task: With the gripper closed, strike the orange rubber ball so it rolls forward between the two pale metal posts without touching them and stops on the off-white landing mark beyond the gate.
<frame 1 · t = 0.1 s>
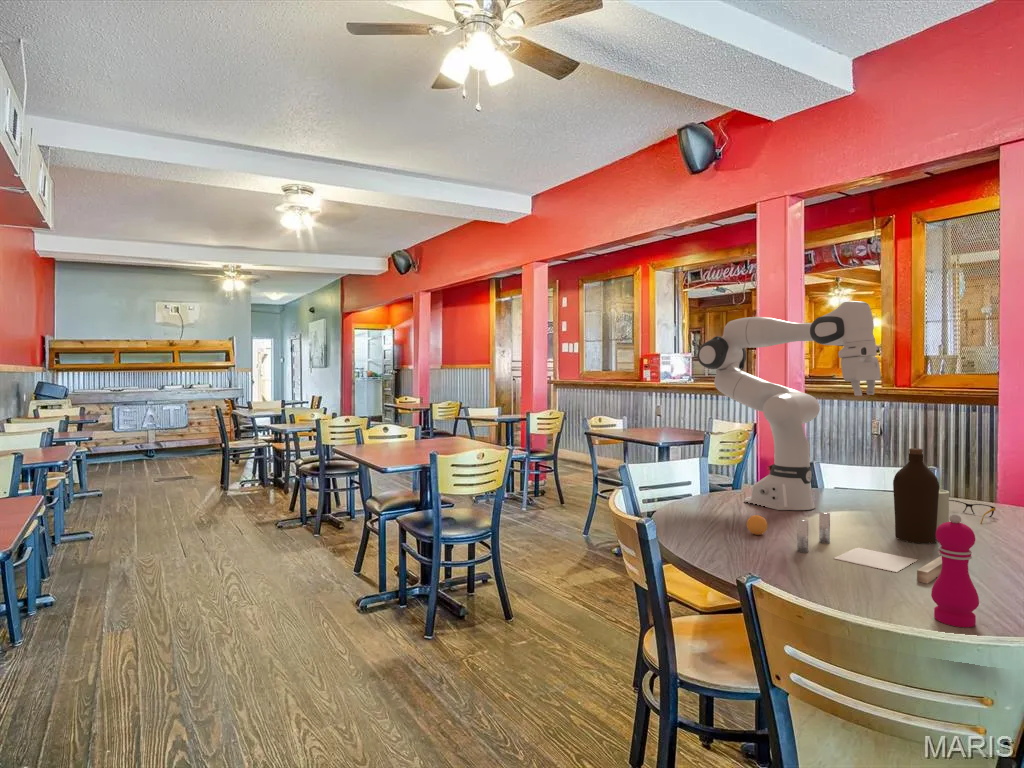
hand: (864, 395, 192), 39 cm above the table, tool pointing down, fingers open, 8 cm apart
eyeglasses: (961, 518, 195), on the table
can: (930, 530, 179), on the table
ball: (757, 524, 175), on the table
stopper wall: (937, 572, 141), on the table
post 1: (802, 551, 159), on the table
landing mark: (875, 559, 151), on the table
post 2: (824, 542, 167), on the table
olive oil: (915, 540, 169), on the table
pepper mill: (954, 621, 114), on the table
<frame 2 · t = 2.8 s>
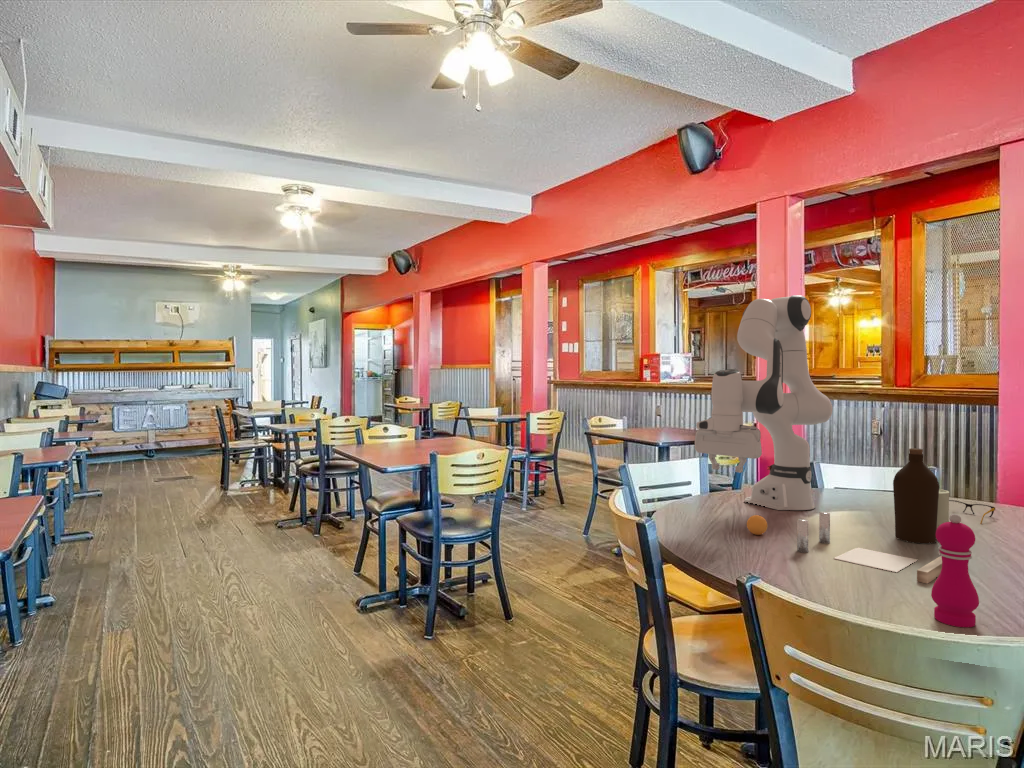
hand: (727, 470, 182), 17 cm above the table, tool pointing down, fingers open, 6 cm apart
nothing on the table moved.
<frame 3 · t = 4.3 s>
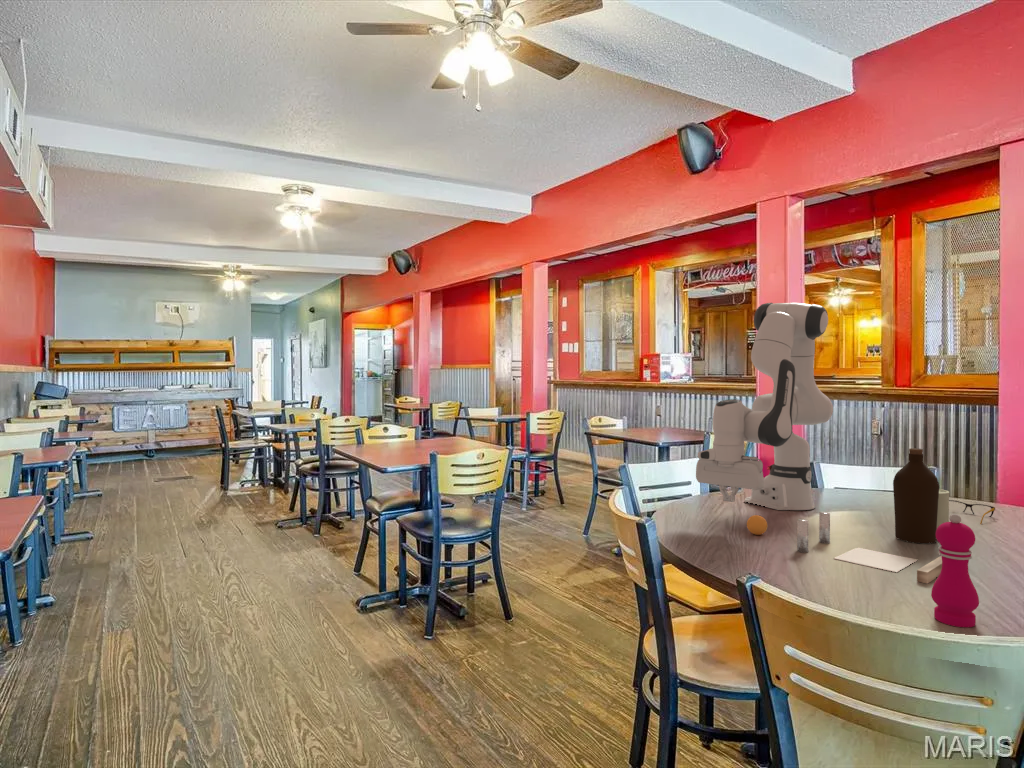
hand: (728, 501, 181), 8 cm above the table, tool pointing down, fingers closed
nothing on the table moved.
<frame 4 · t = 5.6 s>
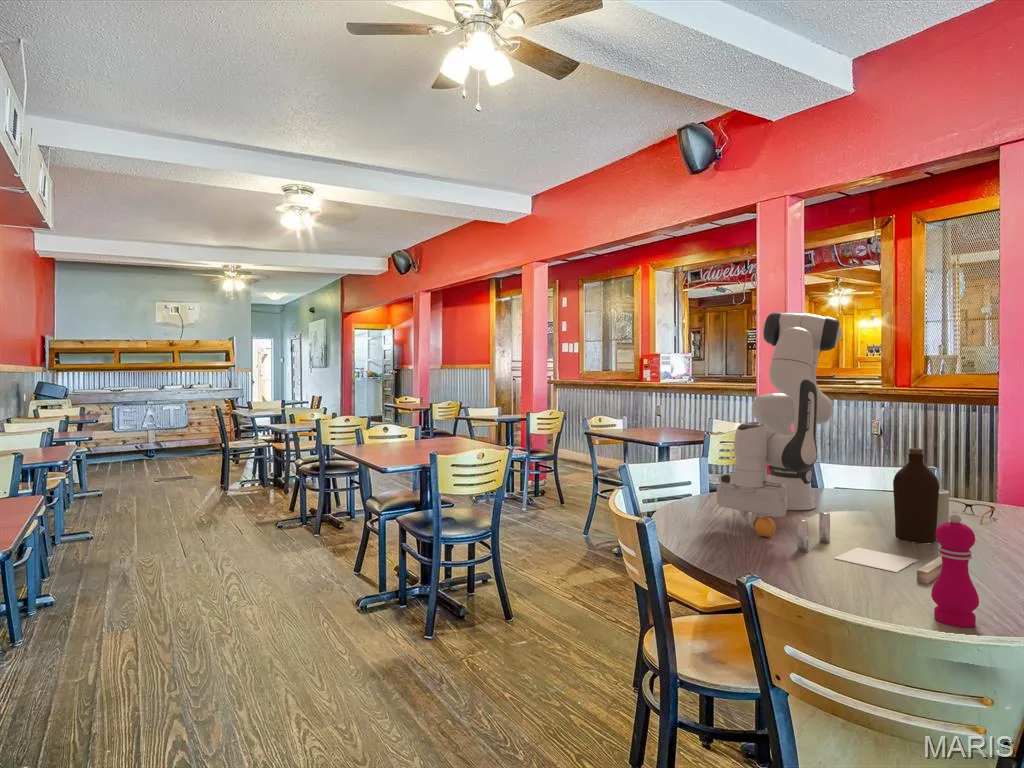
hand: (750, 527, 176), 2 cm above the table, tool pointing down, fingers closed
ball: (764, 526, 173), on the table
everything else where it was.
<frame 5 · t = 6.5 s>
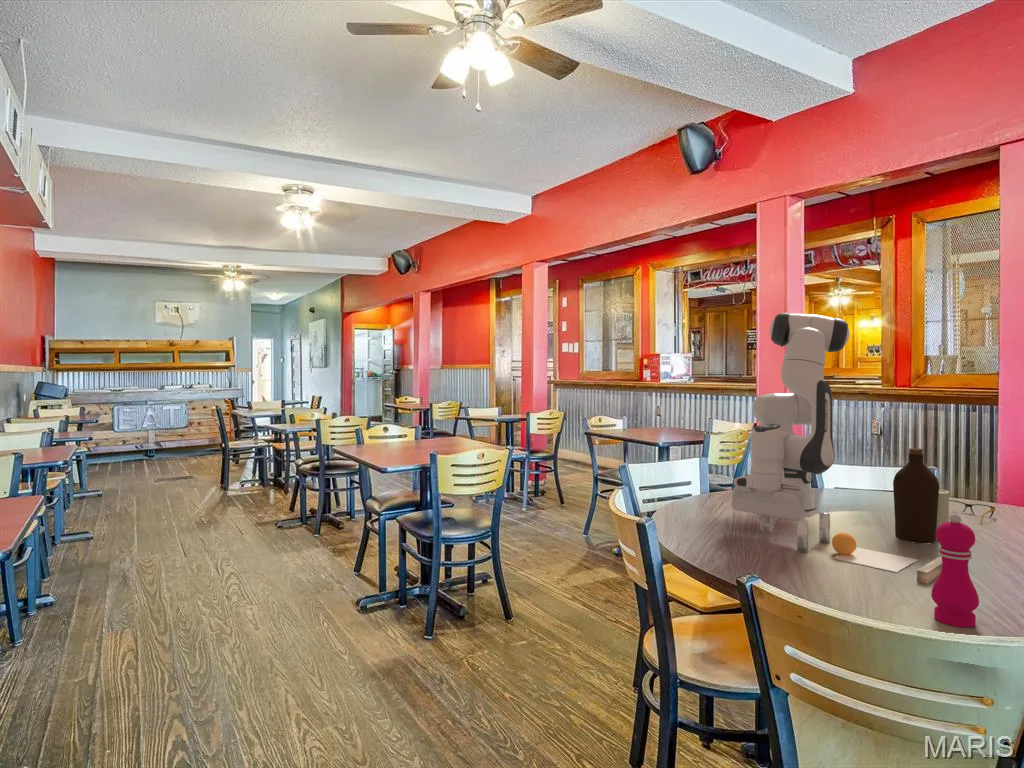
hand: (767, 530, 173), 2 cm above the table, tool pointing down, fingers closed
ball: (844, 543, 156), on the table
everything else where it was.
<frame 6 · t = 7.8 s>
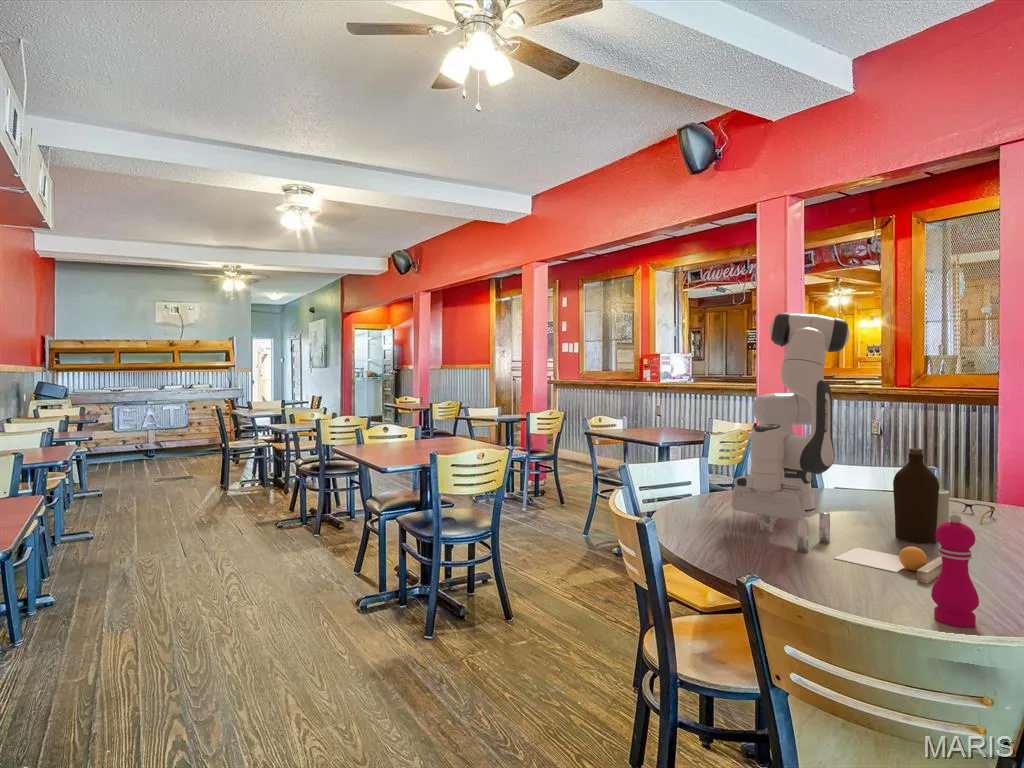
hand: (767, 530, 173), 2 cm above the table, tool pointing down, fingers closed
ball: (913, 558, 143), on the table
everything else where it was.
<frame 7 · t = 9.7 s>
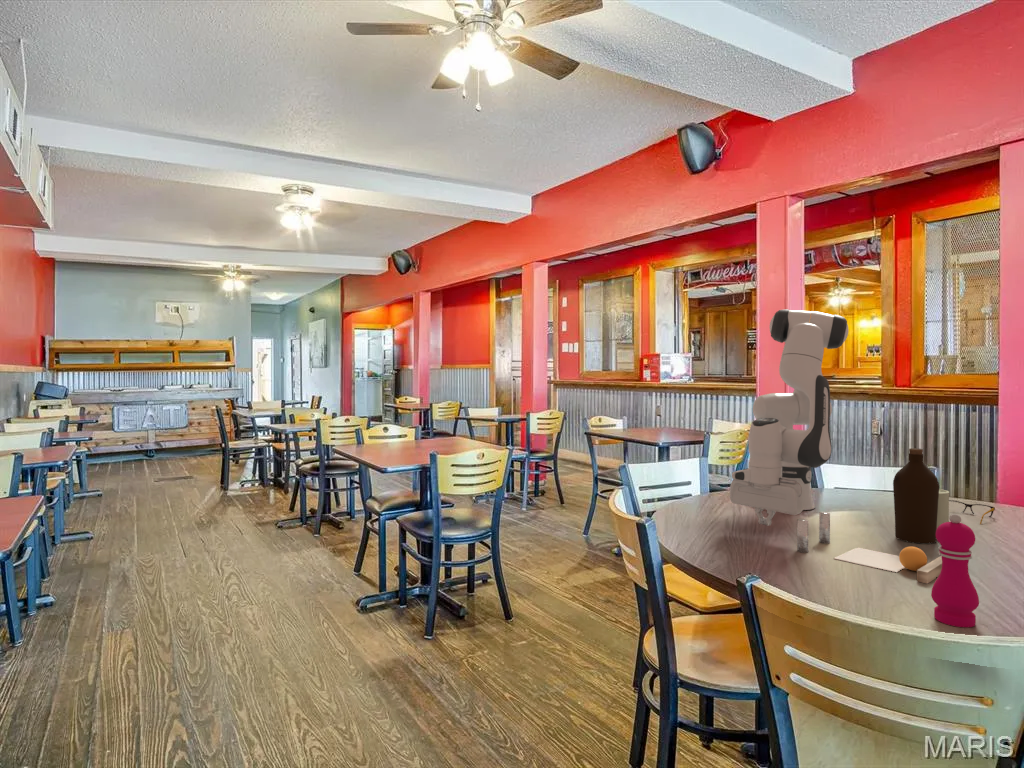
hand: (764, 524, 174), 3 cm above the table, tool pointing down, fingers closed
nothing on the table moved.
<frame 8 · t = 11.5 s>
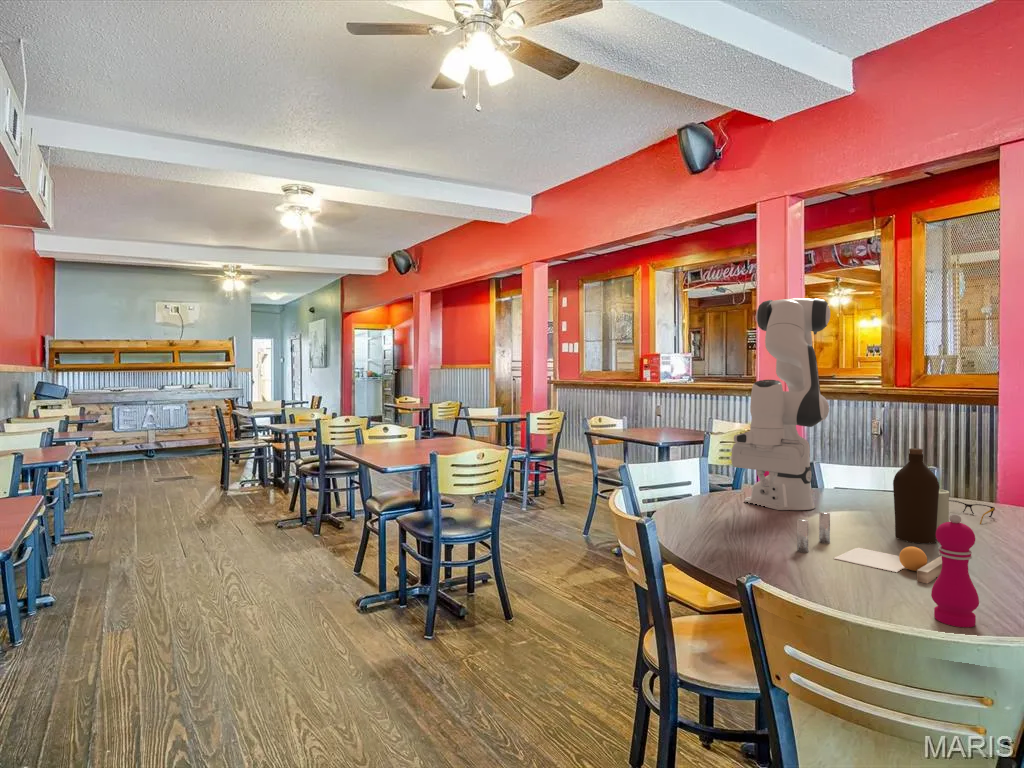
hand: (767, 486, 173), 14 cm above the table, tool pointing down, fingers closed
nothing on the table moved.
at the end: ball 9.1 cm from the landing mark (horizontally); ball never touched post 2; ball never touched post 1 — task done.
